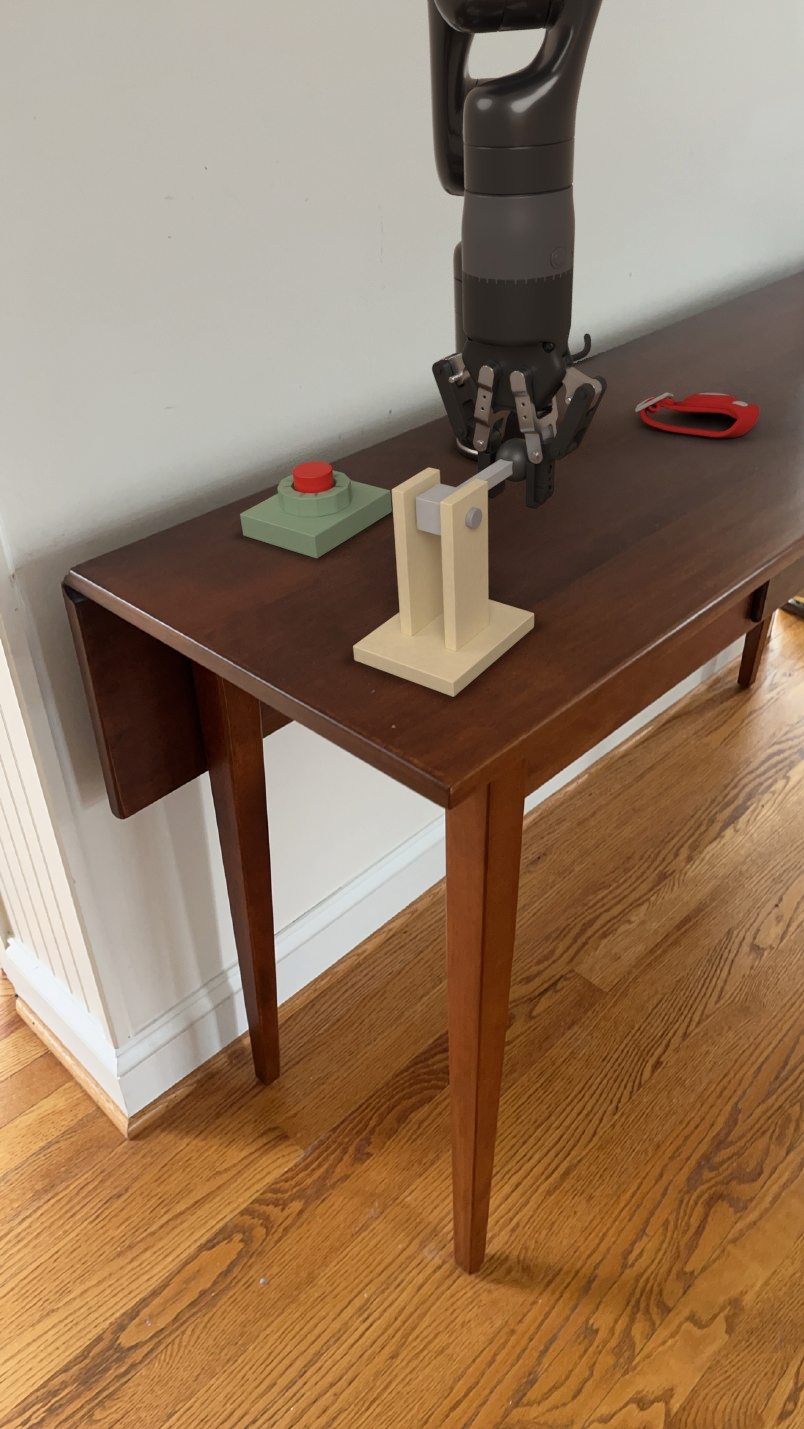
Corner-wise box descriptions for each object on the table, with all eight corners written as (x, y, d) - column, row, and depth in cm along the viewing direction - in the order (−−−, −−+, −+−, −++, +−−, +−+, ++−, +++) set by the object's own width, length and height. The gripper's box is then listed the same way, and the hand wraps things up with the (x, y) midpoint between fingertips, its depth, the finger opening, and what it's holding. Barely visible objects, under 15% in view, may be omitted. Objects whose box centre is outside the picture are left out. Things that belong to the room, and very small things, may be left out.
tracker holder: (712, 393, 114) (782, 395, 106) (707, 434, 115) (775, 439, 107) (627, 389, 109) (693, 390, 100) (623, 432, 110) (688, 437, 102)
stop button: (312, 476, 95) (310, 458, 94) (342, 484, 93) (340, 466, 92) (286, 490, 93) (284, 472, 92) (316, 498, 91) (314, 480, 90)
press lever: (509, 468, 80) (509, 429, 78) (545, 476, 78) (546, 436, 76) (411, 533, 72) (409, 490, 70) (448, 543, 70) (447, 500, 68)
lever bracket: (438, 597, 83) (432, 446, 76) (534, 627, 78) (538, 469, 71) (353, 660, 76) (337, 501, 69) (453, 697, 72) (448, 531, 64)
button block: (319, 492, 101) (315, 453, 99) (392, 511, 97) (389, 472, 94) (242, 535, 94) (236, 495, 92) (317, 559, 90) (312, 517, 87)
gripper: (638, 258, 68) (620, 500, 78) (461, 241, 75) (466, 465, 85) (583, 284, 63) (571, 539, 73) (400, 263, 70) (412, 498, 80)
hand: (514, 498), depth 79 cm, fingers closed on press lever, 3 cm apart
